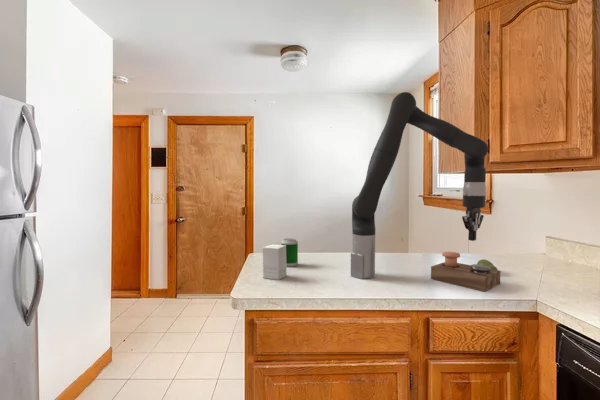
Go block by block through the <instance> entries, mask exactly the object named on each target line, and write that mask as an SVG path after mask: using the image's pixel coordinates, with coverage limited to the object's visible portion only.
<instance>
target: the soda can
mask: <svg viewBox="0 0 600 400" xmlns="http://www.w3.org/2000/svg"><path fill="white" fill-rule="evenodd" d="M280 243H281V244H280V245H286V266H287V267H286V268H288V267H289V268H291V267H292V266H293V267H295V266H297V264H298V263H299V261H298V259H299V258H298V257H299V255H298V253H299V244H298V243H299V242H298V240H297V239H296V238H283V239H282V241H281V242H280ZM293 267H292V268H293Z"/></svg>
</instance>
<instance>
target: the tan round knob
mask: <svg viewBox="0 0 600 400" xmlns="http://www.w3.org/2000/svg"><path fill="white" fill-rule="evenodd" d="M441 254H442V257H444V262H445V267H450V268H457V263H458V258H460V257H461V254H460V252H455V251H442V253H441Z"/></svg>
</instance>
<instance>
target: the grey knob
mask: <svg viewBox="0 0 600 400" xmlns="http://www.w3.org/2000/svg"><path fill="white" fill-rule="evenodd" d="M469 265H470V268H471V269H472V270H473V272H475V273H480V274H487V271H490V267H489V266H486V265H479V264H477V263H476V264H475V263H474V264H469Z"/></svg>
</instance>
